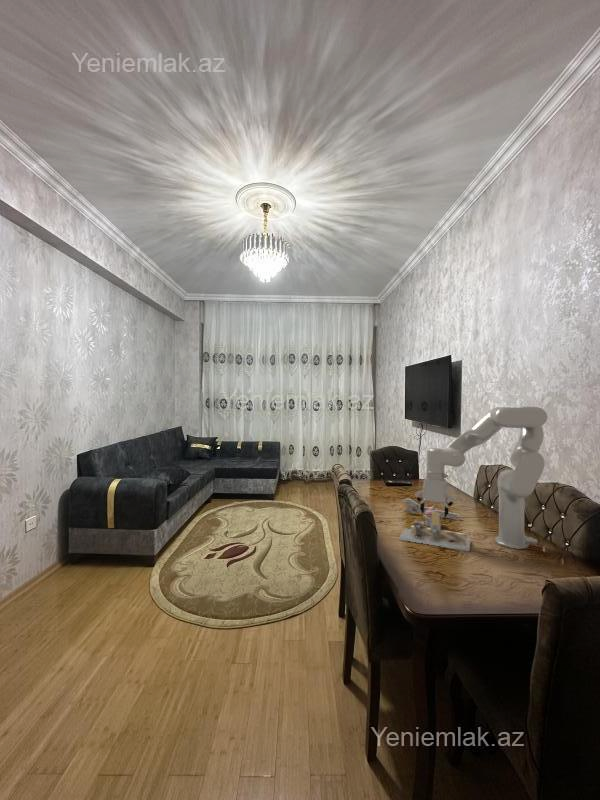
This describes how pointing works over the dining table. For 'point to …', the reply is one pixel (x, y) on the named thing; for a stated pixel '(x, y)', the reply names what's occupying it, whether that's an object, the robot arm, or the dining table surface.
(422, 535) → the bolt plate
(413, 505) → the wrench
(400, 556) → the dining table surface
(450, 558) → the dining table surface
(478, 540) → the dining table surface
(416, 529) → the sliding bolt bar
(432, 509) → the cupcake
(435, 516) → the block
